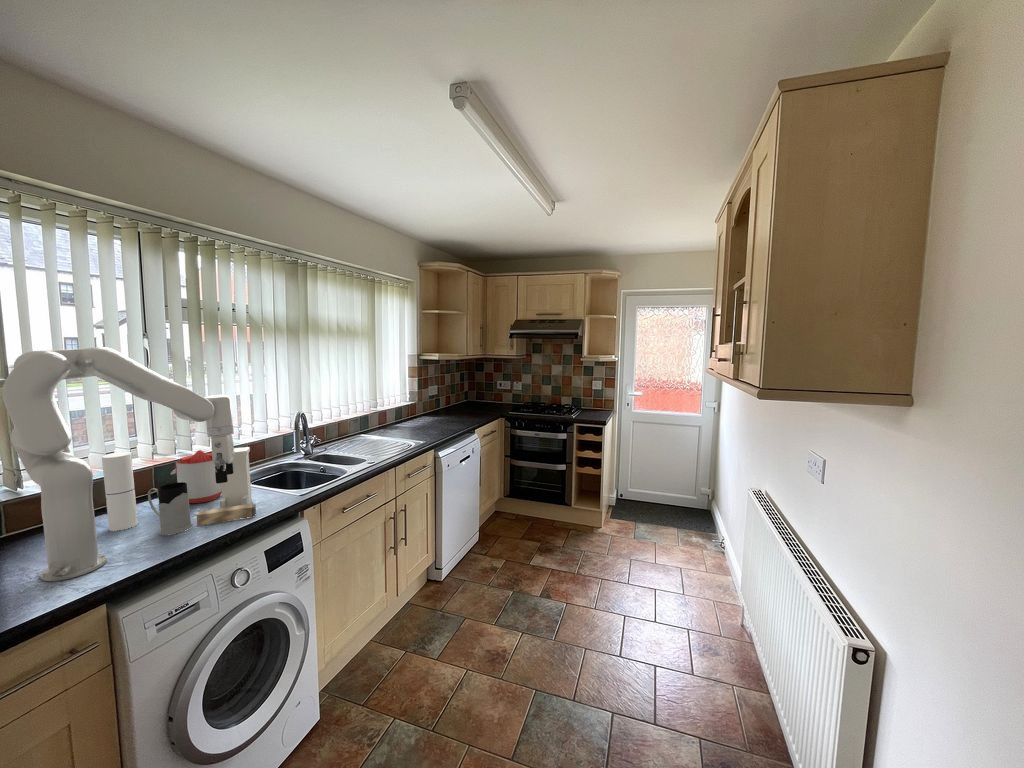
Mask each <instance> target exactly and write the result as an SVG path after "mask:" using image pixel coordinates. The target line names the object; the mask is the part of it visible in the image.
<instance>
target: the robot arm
mask: <svg viewBox="0 0 1024 768" xmlns="http://www.w3.org/2000/svg"><path fill="white" fill-rule="evenodd" d="M90 377H97V378H99V379H101V380H102V381H105V382H107V383H109V384H111V385H113V386H115V387H117V388H119V389H121V390H122V391H125V392H126V393H128V394H130V395H132V396H135V397H137V398H140V399H142V400H144V401H147V402H152V403H155V404H158V405H161V406H164V407H166V408H169V409H171V410H172V411H173V414H174V415H175V417H177V418H179V419H182V420H185V421H189V422H190V421H191V422H196V423H202V422H205V425H206V426H205V427H206V432H207V433H206V434H207V436H206V437H208V438H210V439H211V441H210V444H211V445H210V446H211V453H212V458H213V464H214V465H215V476H216V483H217V484H218V483H225V482H227V481H228V479H227V475H229V474H233V463H232V461H233V459H234V458H235V452H234V448H235V445H234V441H233V435H234V433H235V431H234V423H233V421H234V420H233V411H232V401H231V399H232V398H231V397H230V396H229V395H226V394H216V395H210V396H202V395H200V394H199V393H197V392H195V391H193V390H191V389H190V388H188V387H186V386H184V385H182V384H179V383H177V382H175V381H173V380H171V379H169V378H167V377H165V376H163V375H161V374H159V373H157V372H156V371H153V370H151V369H149V368H148V367H146V366H144V365H142V364H141V363H139V362H137V361H135V360H134V359H132V358H130V357H129V356H127V355H126V354H123V353H122V352H119V351H117V350H116V349H114V348H111V347H105V346H100V347H99V346H97V347H95V346H94V347H84V348H73V349H72V348H71V349H69V348H68V349H54V350H53V349H52V350H50V349H49V350H48V349H47V350H33V351H28V352H25V353H22V354H20V355H18V357H17V358H16V359H15V360H14V363H13V369H12V371H10V373H9V374H8V376H7V377H6V379H5V381H4V383H3V386H2V391H1V392H2V394H1V395H2V400H3V403H4V407H5V409H6V411H7V413H8V416H9V418H10V420H11V423H12V425H13V428H12V430H11V434H10V440H11V443H12V445H13V448H14V449H15V451H16V453H17V456H18V457H19V460H20V461H21V464H22V465H23V467H24V469H25V471H26V473H27V475H28V477H29V478H30V479H31V480H32V482H34V484H36V485H38V486H39V487H40V498H41V499H40V500H41V501H40V504H41V505H40V508H41V517H42V523H43V534H44V541H45V542H44V543H45V551H46V560H47V566H48V567H47V568H45V569H43V571H42V572H40V575H39V577H40V580H42V581H45V582H57V581H64V580H69V579H72V578H76V577H80V576H82V575H87V574H88V573H89V574H90V573H91V572H93V571H95V570H97V569H99V568H101V567H103V566H104V565H105V564H106V563H107V562H108V557H107V555H106V554H102V553H99V548H98V537H97V528H96V527H97V526H96V519H95V518H96V517H95V508H94V501H93V500H94V499H93V486H94V485H93V484H94V475H93V470H92V468H91V466H90V464H88V462H86V460H83V459H82V458H80V457H78V456H75V455H74V453H73V450H72V449H71V447H70V445H71V442H72V439H73V438H72V437H73V436H72V431H71V430H70V428H69V425H68V424H67V422H66V421H65V418H64V416H63V414H62V412H61V410H60V409H59V404H58V403H57V400H56V396H55V390H56V387H57V385H58V384H59V383H60V382H61V381H63V380H70V379H72V380H73V379H81V378H90Z"/></svg>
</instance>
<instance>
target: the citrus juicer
mask: <svg viewBox="0 0 1024 768" xmlns="http://www.w3.org/2000/svg"><path fill="white" fill-rule="evenodd" d="M174 464H175V466H174V467H175V468H174V469H173V470H172V471H171V472H170V475H175V476H176V477H177V478H176V479H177V480H176V481H177V482H176V483H178V482H185V483H187V492H188V496H189V503H192V504H200V503H205V502H211V501H214V500H216V499H218V498H220V497H221V496H222V490H221V483H218V484H217V483H216V476H215V465H214V464H213V458H212V452H205V451H202V450H197V451H196V452H195V453H194V454H191V455H187V456H183V457H181V458H179V462H176V461H175V462H174Z"/></svg>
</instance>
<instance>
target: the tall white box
mask: <svg viewBox="0 0 1024 768" xmlns="http://www.w3.org/2000/svg"><path fill="white" fill-rule="evenodd" d="M234 452H235V458H234V459H233V461H232V463H233V474H229V475H227V479H228V481H227V482H225V483H221V490H222V493H221V499H220V500H219V508H225V507H232V506H239V505H246V504H252V500H253V499H252V497H253V496H252V486H251V473H250V472H251V471H250V470H251V469H250V454H249V453H250V452H251V447H250V446H245V447H234Z"/></svg>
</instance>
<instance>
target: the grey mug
mask: <svg viewBox="0 0 1024 768" xmlns="http://www.w3.org/2000/svg"><path fill="white" fill-rule="evenodd" d="M152 490H154V491H155V492H156V494H157V498H158V503H157V504H158V510H157V509H156V507H155V505H154V504H153V501H152V497H151V493H152ZM147 499H148V502H149V506H150V508H151V509H152V511H153V512H154V513H155V514H156V515H157V516H158V517H159V523H160V527H159V528H160V529H159V533H160V534H162V535H161V536H169V535H168V534H174V535H176V534H175V533H178V534H180V533H179V532H182V531H184V532H186V531H185V530H187V529H189V528H191V527H192V526H193V523H192V521H191V511H190V504H189V496H188V492H187V483H185V482H171V483H166V484H163V485H160V486H159V487H158V488H155V487H153V488H151V489H149V490H148V491H147ZM193 527H194V526H193ZM193 527H192V528H193ZM192 528H191V529H192ZM189 530H190V529H189ZM187 531H188V530H187ZM182 533H183V532H182ZM160 534H159V535H160Z"/></svg>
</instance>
